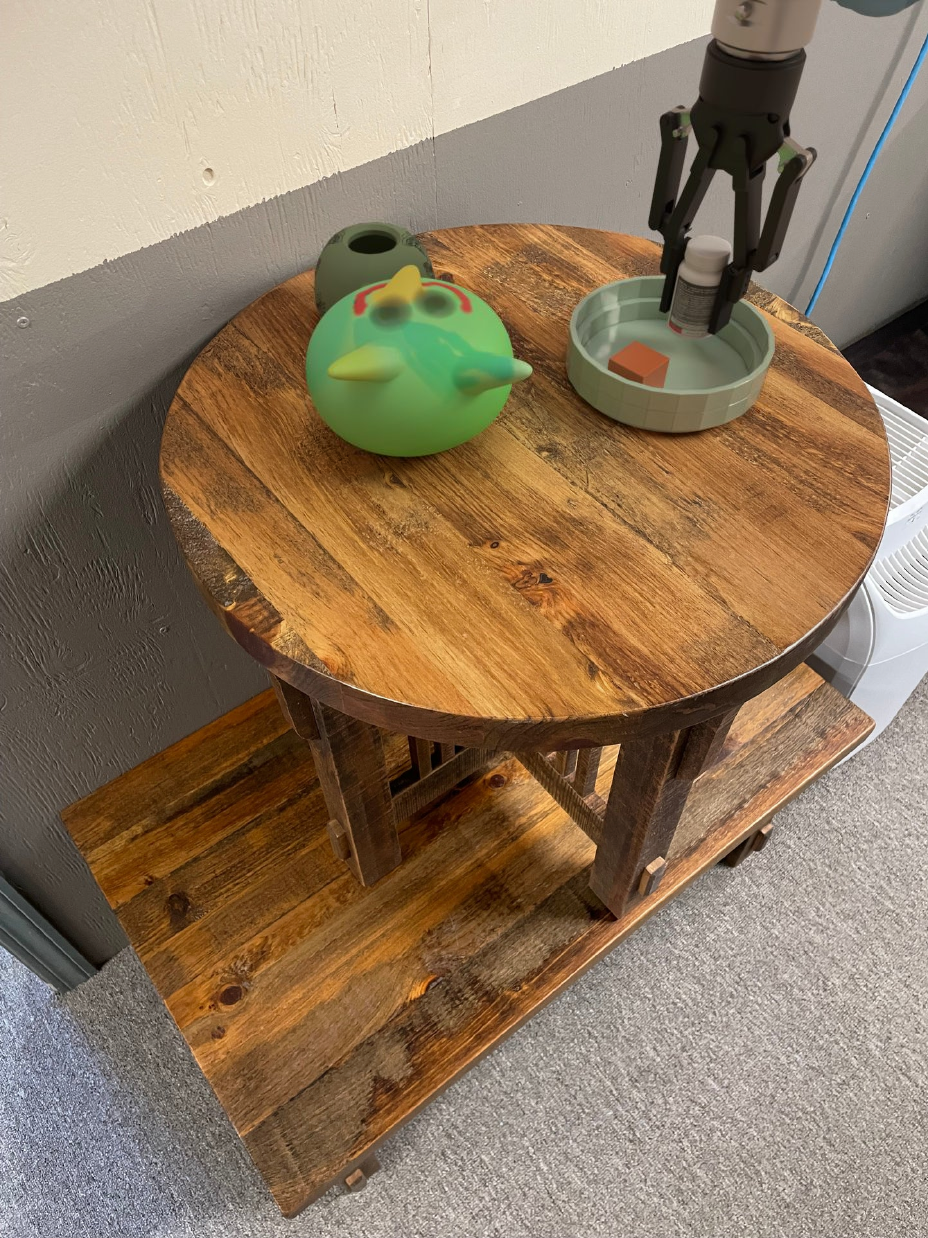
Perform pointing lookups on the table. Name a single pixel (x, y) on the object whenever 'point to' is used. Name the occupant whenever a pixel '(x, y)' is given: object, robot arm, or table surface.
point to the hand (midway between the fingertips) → (693, 316)
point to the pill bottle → (697, 286)
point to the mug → (365, 260)
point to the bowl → (698, 369)
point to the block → (640, 365)
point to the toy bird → (410, 366)
